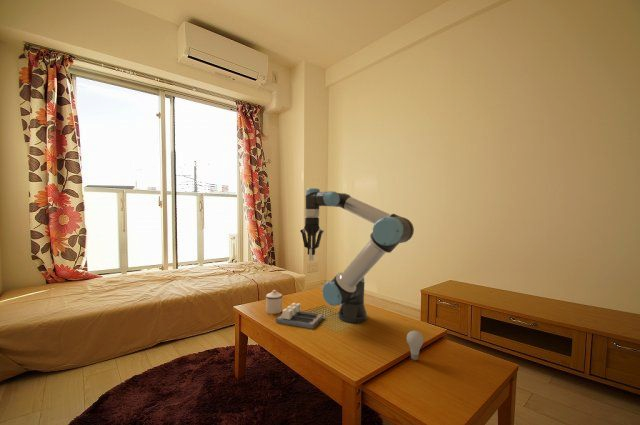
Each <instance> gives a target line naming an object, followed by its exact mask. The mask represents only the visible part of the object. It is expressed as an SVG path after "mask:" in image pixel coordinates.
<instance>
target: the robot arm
mask: <svg viewBox="0 0 640 425" xmlns="http://www.w3.org/2000/svg"><path fill="white" fill-rule="evenodd" d="M320 207H334V208H335V207H338V208H341V209H343V210H345V211H348V212H350V213H352V214H354V215H356V216H358V217H360V218H362V219H363V220H366V221H368V222H370V223H372V224H373V226H372V232H371V234H370V236H369V238H370V240H369V241H368V242H367V243H366V245H365V246H364V247H363V248H362V249H361V250H360V252H358V254H357V255H356V256H355V257H354V259H353V260H352V261H351V262H350V263H349V265H348V266H347V267H346V268H345V269H344V271H343V272H338V273H337V274H336V275H335V276H334V277H333V279H332V280H330V281H326V282H325V283H324V284H323V287H322V290H321V292H322V297H323V300H324V301H325V302H326V303H327V304H328V305H329V306H332V307H337V306H340V307H339V309H338V315H337V317H338V319H339V320H341V321H342V322H346V323H352V324H355V323H356V324H357V323H363V322H365V321H367V320H368V313H367V310H366V306H365V276H366V275H367V274H368V273H369V271H371V270H372V268H373V267H375V265H376V264H377V263H378V262H379V261H380V260H381V258H382V257H383V256H384V255H385V254H391V253H392V251H393V250H394V249H396V247H398V246H399V244H402V243H407V242H408V241H409V240H411V238H413V237H414V231H415V229H414V228H415V227H414V224H413V223H412V222H411V220H410V219H408V218H407V217H403V216H400V215H397V214H395V213H391V214H390V213H388V212H385V211H383V210H381V209H379V208H377V207H374V206H372V205H371V204H368V203H365V202H363V201H361V200H359V199H357V198H354V197H352V196H351V195H350V194H348V193H341V192H336V191H334V190H333V191H331V190H330V191H321V190H320V189H319V188H316V187H313V188H312V187H310V188H307V189H306V190H305V211H304V213H305V214H304V215H305V219H304V227H303V229H300V233H301V236H302V241H303V246H304V248H306V249H307V255H308V262H313V261H314V256H315V255H316V249H319V247H320V243H321V238H322V235H323V234H324V230H322V229H321V227H320V218H319V217H320ZM317 233H318V235H317ZM316 238H317V239H316Z"/></svg>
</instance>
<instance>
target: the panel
mask: <svg viewBox="0 0 640 425" xmlns="http://www.w3.org/2000/svg"><path fill="white" fill-rule="evenodd" d="M323 319H324V314H323V313H315V312H311V311H304V310H300V312H296V315H295V316H293V315H292V318H291V319H290V320H289V319H283V318H282V314H280V315H279V316H277V317H276V318H275V323H277V324H283V325H287V326H288V325H289V326H292V327H293V326H294V327H299V328H305V329H309V330H311V329H312V330H314V329H315V328H316V327H317V325H318V324H320V322H321V321H322V320H323Z"/></svg>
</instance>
